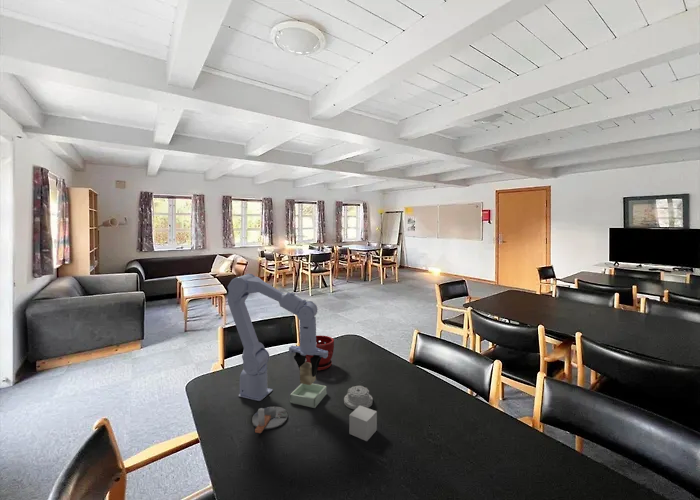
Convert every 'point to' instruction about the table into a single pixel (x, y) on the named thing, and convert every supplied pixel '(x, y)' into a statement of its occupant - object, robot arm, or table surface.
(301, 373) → the brown block
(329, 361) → the plant pot
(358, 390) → the mechanical component
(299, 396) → the tray
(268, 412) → the crank
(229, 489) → the table surface
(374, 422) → the light grey cube
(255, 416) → the dial plate
